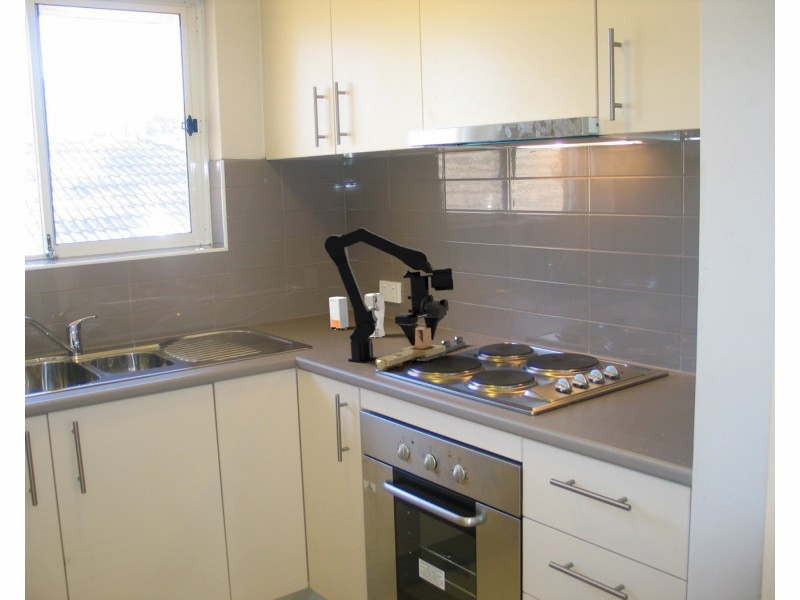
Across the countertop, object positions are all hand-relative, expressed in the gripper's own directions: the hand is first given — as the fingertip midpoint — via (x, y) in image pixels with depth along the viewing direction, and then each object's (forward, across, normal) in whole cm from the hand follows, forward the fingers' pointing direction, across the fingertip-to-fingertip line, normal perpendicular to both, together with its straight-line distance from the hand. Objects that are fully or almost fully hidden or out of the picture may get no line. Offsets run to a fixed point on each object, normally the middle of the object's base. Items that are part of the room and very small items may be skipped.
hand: (422, 342), depth 247 cm
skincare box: (+5, +27, +60) cm, 66 cm away
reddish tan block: (+4, 0, 0) cm, 5 cm away
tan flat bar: (+4, 0, 0) cm, 4 cm away
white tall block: (+5, +21, +37) cm, 43 cm away
